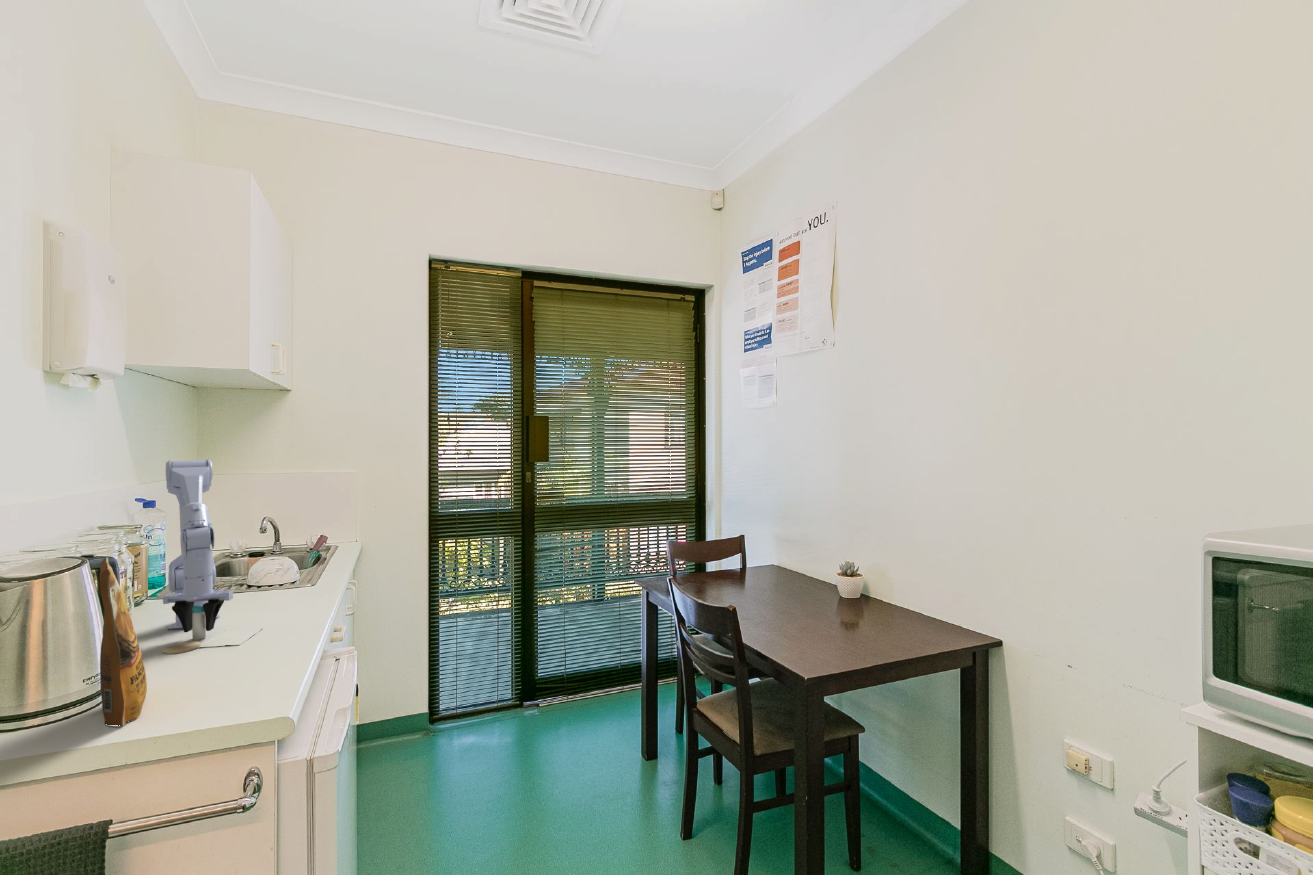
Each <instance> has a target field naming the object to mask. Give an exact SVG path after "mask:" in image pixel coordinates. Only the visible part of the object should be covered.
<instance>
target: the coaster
mask: <svg viewBox="0 0 1313 875" xmlns="http://www.w3.org/2000/svg"><path fill="white" fill-rule="evenodd" d="M201 645H202V643H201V642H200V641H185V642H180V643H176V644H172V645H169V646H167V647H165V648H164V649H163V651H162V653H163V654H166V655H175V654H177V655H178V654H183V653H182V652H184V653H188V652H191V650H192V651H194V650H197V649H199V648H198V647H199V646H201ZM196 648H197V649H196ZM193 649H194V650H193Z"/></svg>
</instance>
